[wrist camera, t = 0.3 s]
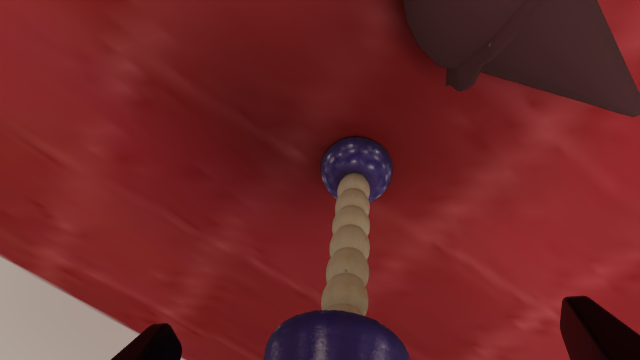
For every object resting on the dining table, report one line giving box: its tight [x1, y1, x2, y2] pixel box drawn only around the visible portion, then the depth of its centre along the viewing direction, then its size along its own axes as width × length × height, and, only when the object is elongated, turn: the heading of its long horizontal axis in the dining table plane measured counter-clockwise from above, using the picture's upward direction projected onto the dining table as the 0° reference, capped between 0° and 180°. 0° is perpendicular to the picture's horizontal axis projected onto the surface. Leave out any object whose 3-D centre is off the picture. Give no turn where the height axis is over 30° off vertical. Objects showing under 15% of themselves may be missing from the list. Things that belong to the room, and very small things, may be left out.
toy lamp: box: [264, 137, 410, 360], centre depth 17 cm, size 5×5×17 cm
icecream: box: [403, 0, 640, 117], centre depth 16 cm, size 7×7×15 cm
